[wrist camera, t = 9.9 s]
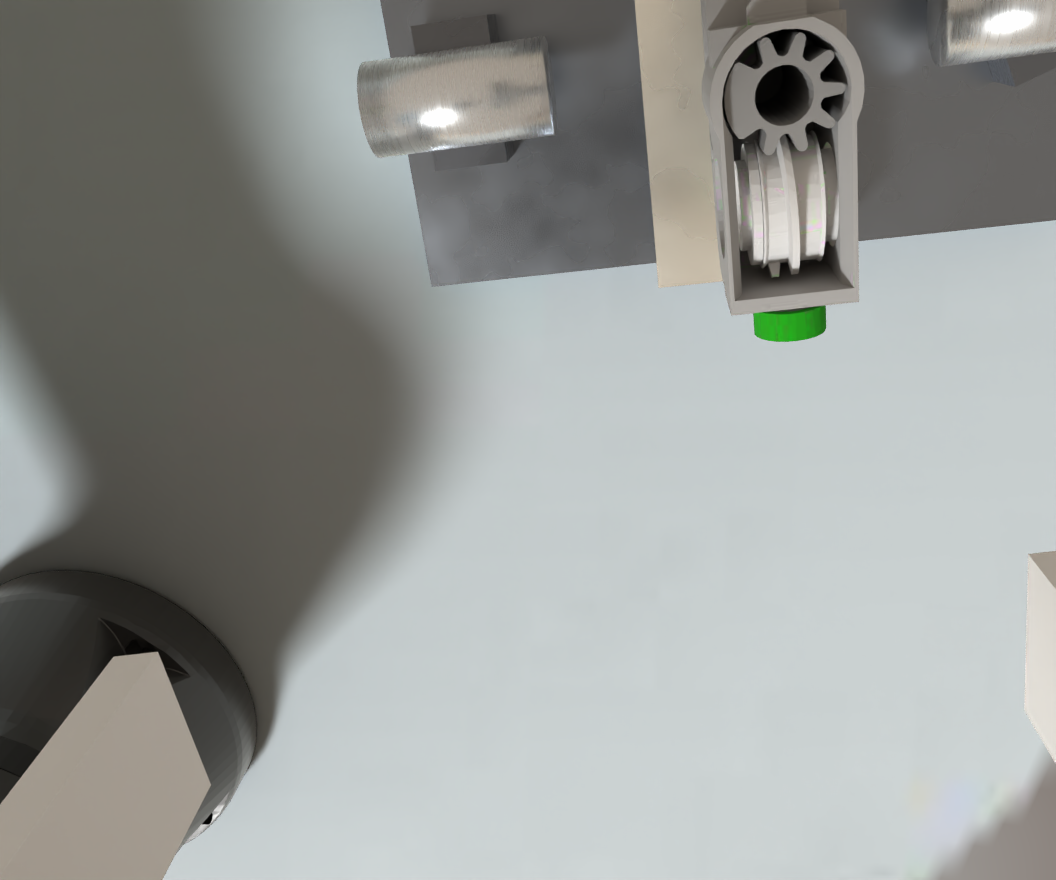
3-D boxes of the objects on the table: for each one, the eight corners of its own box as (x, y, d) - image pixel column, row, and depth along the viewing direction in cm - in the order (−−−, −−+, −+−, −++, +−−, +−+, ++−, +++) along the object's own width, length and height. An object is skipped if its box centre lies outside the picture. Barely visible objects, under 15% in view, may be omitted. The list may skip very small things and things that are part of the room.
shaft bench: (438, 278, 36) (401, 326, 31) (369, -114, 31) (310, -139, 26) (1065, 210, 33) (1148, 251, 27) (1104, -243, 28) (1215, -302, 22)
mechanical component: (786, -145, 26) (861, -224, 17) (799, 235, 30) (867, 336, 21) (674, -124, 26) (689, -190, 17) (702, 246, 30) (726, 351, 21)
